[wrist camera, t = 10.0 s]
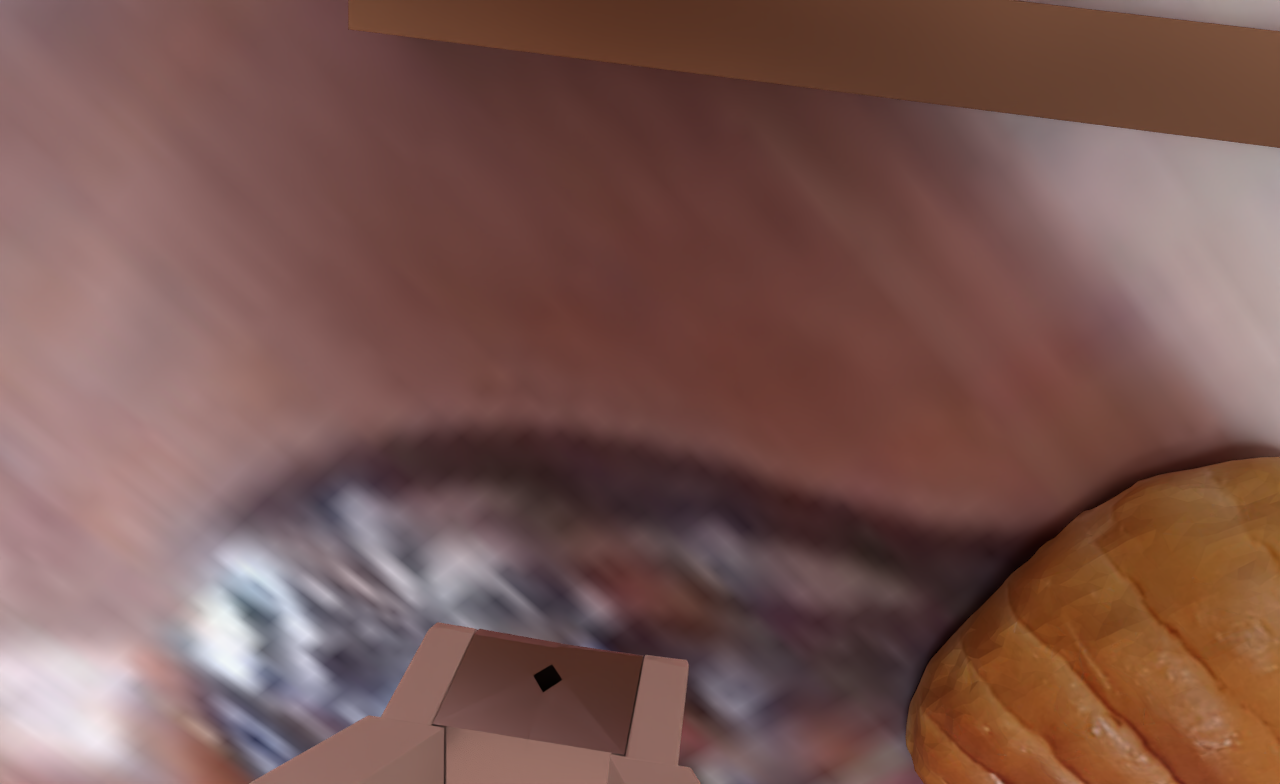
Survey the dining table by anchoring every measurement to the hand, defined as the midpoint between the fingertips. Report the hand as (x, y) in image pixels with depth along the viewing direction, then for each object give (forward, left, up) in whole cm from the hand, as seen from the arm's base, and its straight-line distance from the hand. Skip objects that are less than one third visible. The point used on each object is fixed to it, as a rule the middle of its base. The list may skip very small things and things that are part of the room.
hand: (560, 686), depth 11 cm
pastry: (+3, +11, -9) cm, 14 cm away
